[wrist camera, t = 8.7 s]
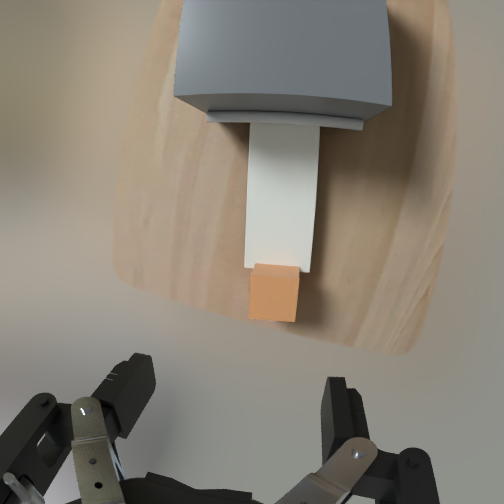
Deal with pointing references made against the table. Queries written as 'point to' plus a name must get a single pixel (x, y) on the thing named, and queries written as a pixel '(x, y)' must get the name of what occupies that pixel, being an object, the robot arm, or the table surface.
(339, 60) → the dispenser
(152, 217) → the table surface
